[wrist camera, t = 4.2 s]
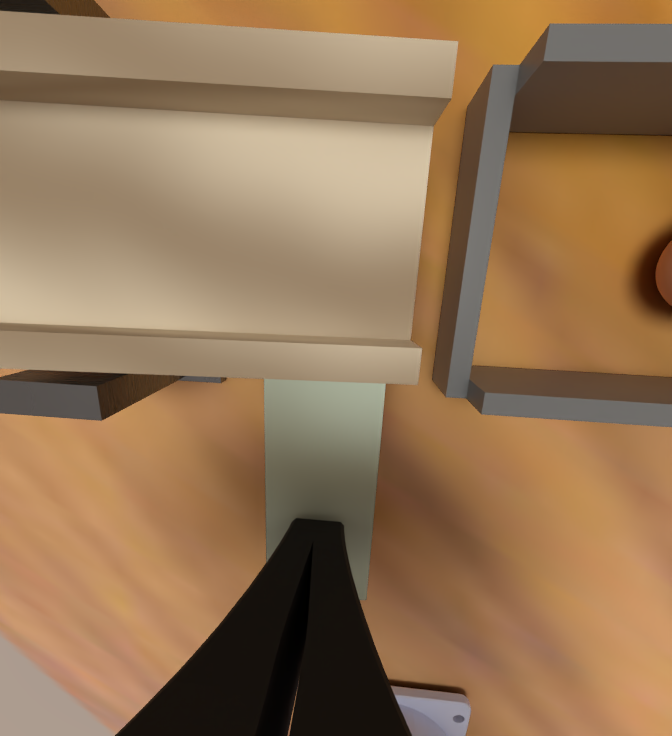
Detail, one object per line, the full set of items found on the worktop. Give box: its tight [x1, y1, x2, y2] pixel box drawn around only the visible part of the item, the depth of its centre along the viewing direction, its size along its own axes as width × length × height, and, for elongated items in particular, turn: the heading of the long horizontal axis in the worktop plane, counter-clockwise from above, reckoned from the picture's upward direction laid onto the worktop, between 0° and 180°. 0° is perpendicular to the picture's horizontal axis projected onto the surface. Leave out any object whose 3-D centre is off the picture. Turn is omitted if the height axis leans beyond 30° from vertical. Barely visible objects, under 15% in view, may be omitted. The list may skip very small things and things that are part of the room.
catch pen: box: [432, 24, 672, 427], centre depth 8 cm, size 8×9×4 cm
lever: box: [0, 11, 458, 600], centre depth 7 cm, size 13×16×2 cm
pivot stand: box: [0, 0, 225, 421], centre depth 8 cm, size 9×4×5 cm, turn 177°
